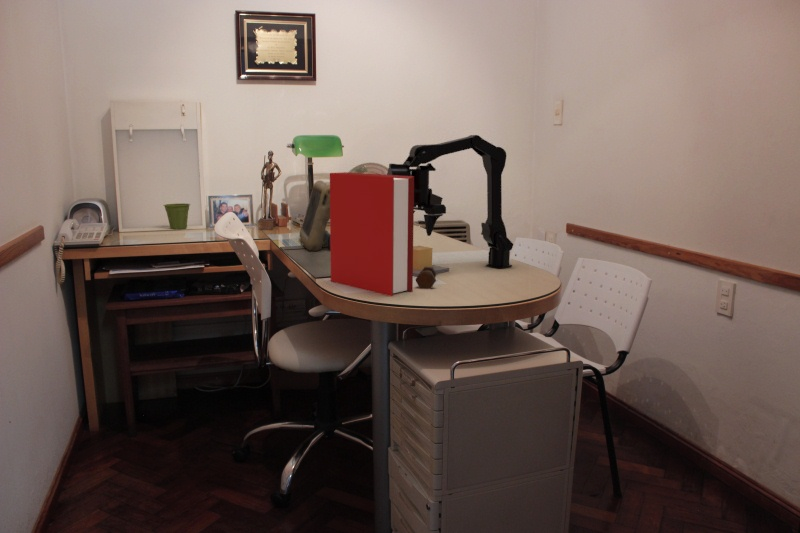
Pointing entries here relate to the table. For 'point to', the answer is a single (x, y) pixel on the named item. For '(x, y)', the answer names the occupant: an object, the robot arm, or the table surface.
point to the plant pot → (177, 215)
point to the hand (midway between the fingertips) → (419, 234)
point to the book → (372, 231)
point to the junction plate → (437, 269)
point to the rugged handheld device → (317, 218)
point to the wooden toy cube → (422, 257)
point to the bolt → (426, 278)
